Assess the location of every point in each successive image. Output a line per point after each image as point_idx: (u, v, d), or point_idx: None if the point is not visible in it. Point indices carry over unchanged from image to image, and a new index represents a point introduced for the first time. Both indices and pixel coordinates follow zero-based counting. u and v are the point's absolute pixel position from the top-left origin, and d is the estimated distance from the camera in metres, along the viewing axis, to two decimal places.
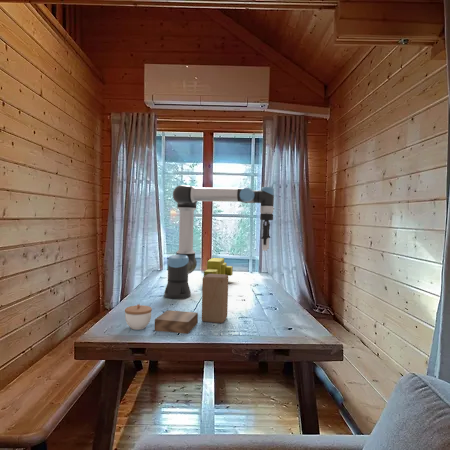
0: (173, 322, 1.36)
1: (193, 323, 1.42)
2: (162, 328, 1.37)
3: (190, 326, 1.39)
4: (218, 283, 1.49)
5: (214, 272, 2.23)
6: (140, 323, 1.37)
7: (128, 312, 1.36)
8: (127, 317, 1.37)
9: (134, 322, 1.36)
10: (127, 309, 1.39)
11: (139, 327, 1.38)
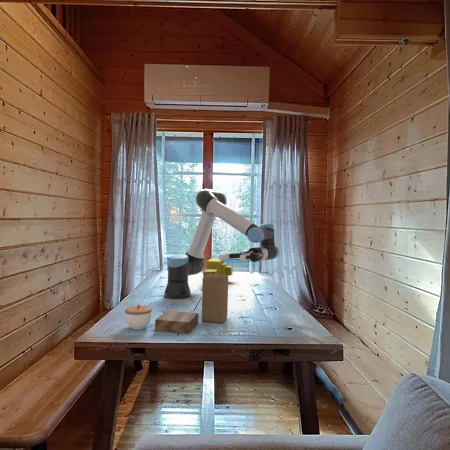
0: (174, 322, 1.35)
1: (194, 323, 1.42)
2: (163, 328, 1.36)
3: (191, 326, 1.38)
4: (218, 283, 1.49)
5: (213, 272, 2.23)
6: (140, 323, 1.37)
7: (128, 312, 1.36)
8: (127, 317, 1.37)
9: (134, 322, 1.36)
10: (127, 309, 1.39)
11: (139, 327, 1.38)
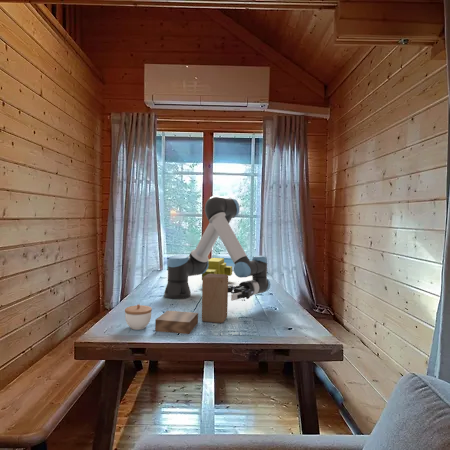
0: (174, 322, 1.35)
1: (194, 323, 1.42)
2: (163, 328, 1.36)
3: (191, 326, 1.38)
4: (218, 283, 1.49)
5: (212, 272, 2.23)
6: (140, 323, 1.37)
7: (128, 312, 1.36)
8: (127, 317, 1.37)
9: (134, 322, 1.36)
10: (127, 309, 1.39)
11: (139, 327, 1.38)
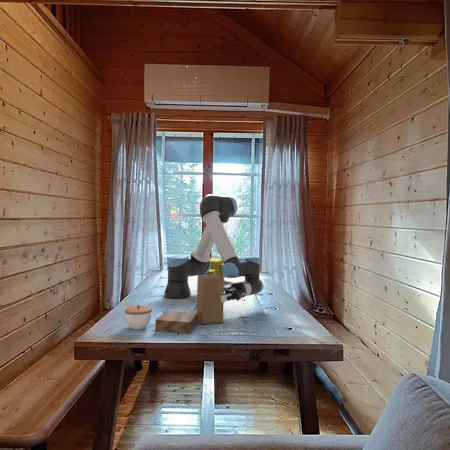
0: (174, 322, 1.35)
1: (194, 323, 1.42)
2: (163, 329, 1.36)
3: (191, 326, 1.38)
4: (219, 284, 1.48)
5: (211, 272, 2.23)
6: (140, 323, 1.37)
7: (128, 312, 1.36)
8: (127, 317, 1.37)
9: (134, 322, 1.36)
10: (127, 309, 1.39)
11: (139, 327, 1.38)
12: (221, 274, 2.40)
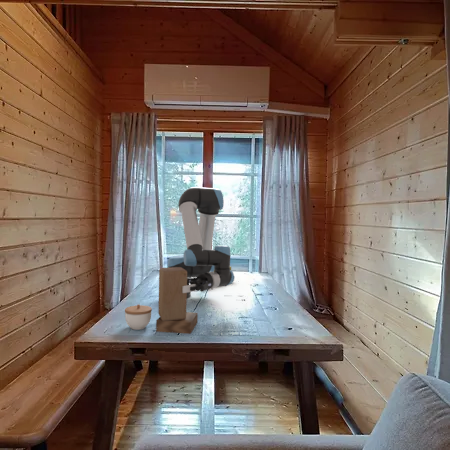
0: (175, 323, 1.35)
1: (194, 323, 1.42)
2: (164, 329, 1.36)
3: (192, 326, 1.39)
4: (181, 277, 1.37)
5: None
6: (140, 323, 1.37)
7: (128, 312, 1.36)
8: (127, 317, 1.37)
9: (134, 322, 1.36)
10: (127, 309, 1.39)
11: (139, 327, 1.38)
12: None
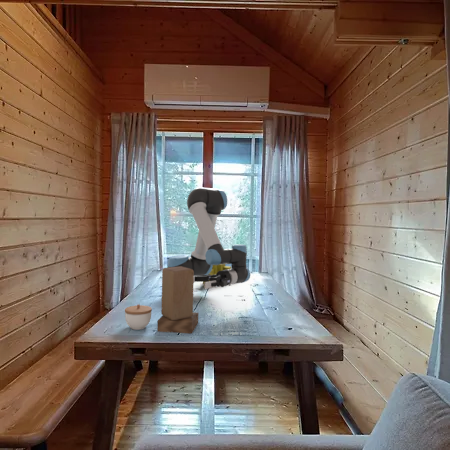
0: (177, 323, 1.36)
1: (195, 323, 1.43)
2: (166, 329, 1.36)
3: (193, 326, 1.39)
4: (189, 276, 1.39)
5: None
6: (140, 323, 1.37)
7: (128, 312, 1.36)
8: (127, 317, 1.37)
9: (134, 322, 1.36)
10: (127, 309, 1.39)
11: (139, 327, 1.38)
12: None
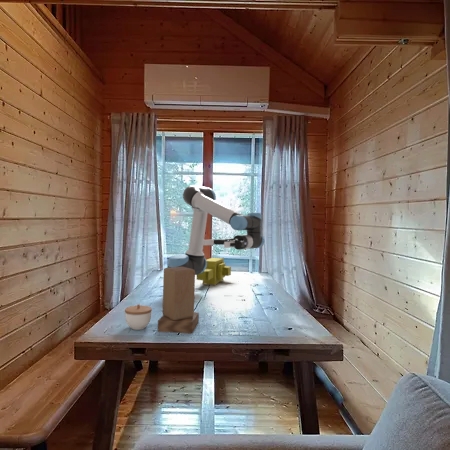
0: (177, 323, 1.36)
1: (196, 323, 1.43)
2: (166, 329, 1.36)
3: (194, 326, 1.39)
4: (191, 276, 1.40)
5: (207, 272, 2.24)
6: (140, 323, 1.37)
7: (128, 312, 1.36)
8: (127, 317, 1.37)
9: (134, 322, 1.36)
10: (127, 309, 1.39)
11: (139, 327, 1.38)
12: (219, 274, 2.40)
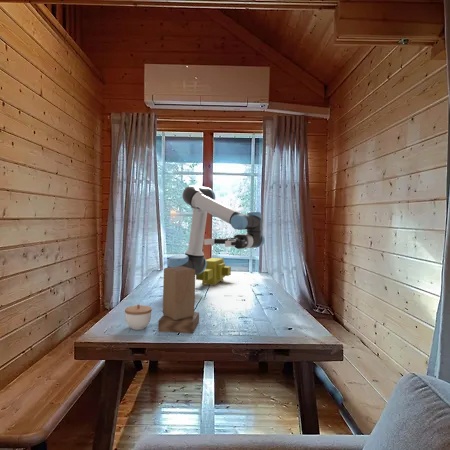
0: (177, 322, 1.36)
1: (196, 323, 1.43)
2: (166, 329, 1.36)
3: (194, 326, 1.39)
4: (191, 276, 1.40)
5: (206, 272, 2.24)
6: (140, 323, 1.37)
7: (128, 312, 1.36)
8: (127, 317, 1.37)
9: (134, 322, 1.36)
10: (127, 309, 1.39)
11: (139, 327, 1.38)
12: (218, 274, 2.39)
